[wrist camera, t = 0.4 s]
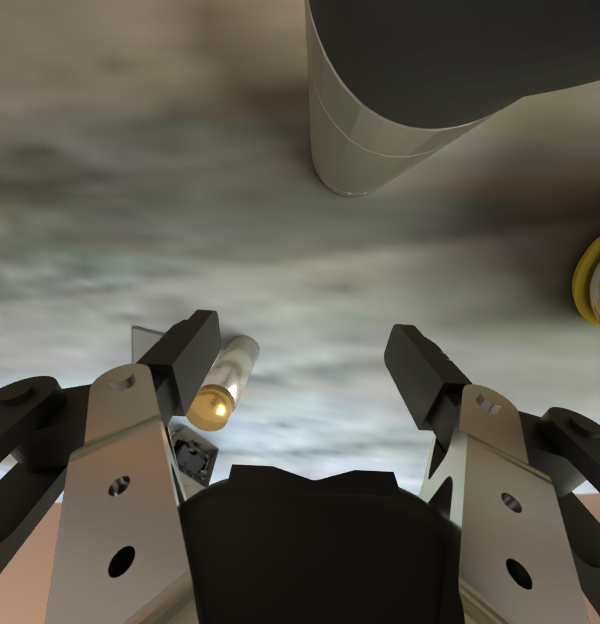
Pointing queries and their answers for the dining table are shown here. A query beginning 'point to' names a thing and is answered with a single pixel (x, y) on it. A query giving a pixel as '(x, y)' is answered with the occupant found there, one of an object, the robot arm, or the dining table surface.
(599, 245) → the flowerpot
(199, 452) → the electrical switch
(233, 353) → the canister
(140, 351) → the mat
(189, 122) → the dining table surface
